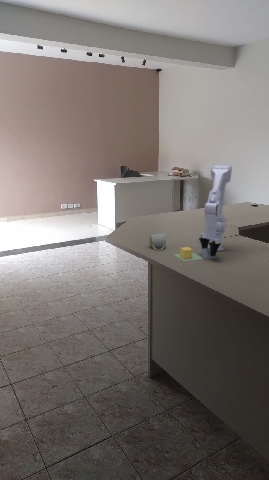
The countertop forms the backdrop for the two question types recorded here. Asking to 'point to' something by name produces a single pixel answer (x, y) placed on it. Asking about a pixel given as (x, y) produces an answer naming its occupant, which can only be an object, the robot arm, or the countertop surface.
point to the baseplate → (194, 257)
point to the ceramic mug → (157, 241)
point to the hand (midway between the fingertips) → (208, 253)
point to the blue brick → (207, 253)
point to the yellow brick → (186, 253)
